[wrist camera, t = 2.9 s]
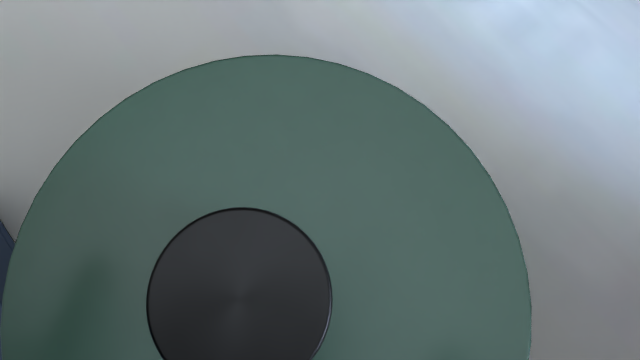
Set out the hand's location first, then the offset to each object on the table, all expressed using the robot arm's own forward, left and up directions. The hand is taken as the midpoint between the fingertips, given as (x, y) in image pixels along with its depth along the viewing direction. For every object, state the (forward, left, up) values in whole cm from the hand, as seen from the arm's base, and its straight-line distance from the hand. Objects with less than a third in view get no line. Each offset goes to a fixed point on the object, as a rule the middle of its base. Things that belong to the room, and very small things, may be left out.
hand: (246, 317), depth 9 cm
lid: (0, 0, -3) cm, 3 cm away
